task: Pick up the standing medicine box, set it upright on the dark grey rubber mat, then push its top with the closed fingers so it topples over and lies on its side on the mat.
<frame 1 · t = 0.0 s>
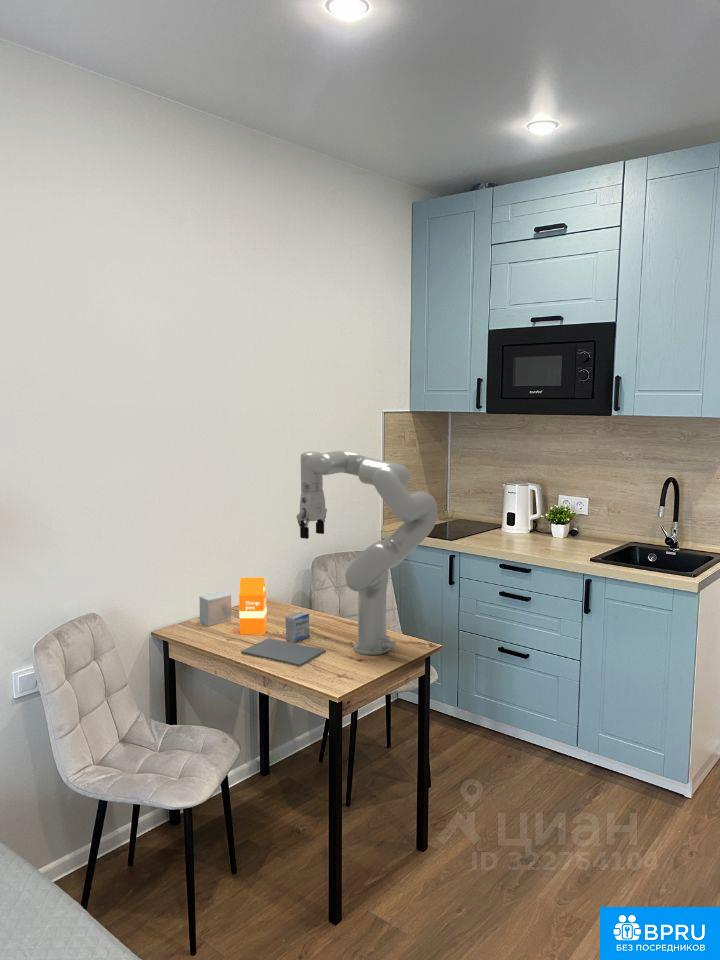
hand: (312, 535, 252), 37 cm above the table, tool pointing down, fingers open, 9 cm apart
medicine box: (297, 639, 255), on the table
skincare box: (215, 622, 274), on the table
orange juice: (253, 631, 264), on the table
mat: (283, 652, 241), on the table
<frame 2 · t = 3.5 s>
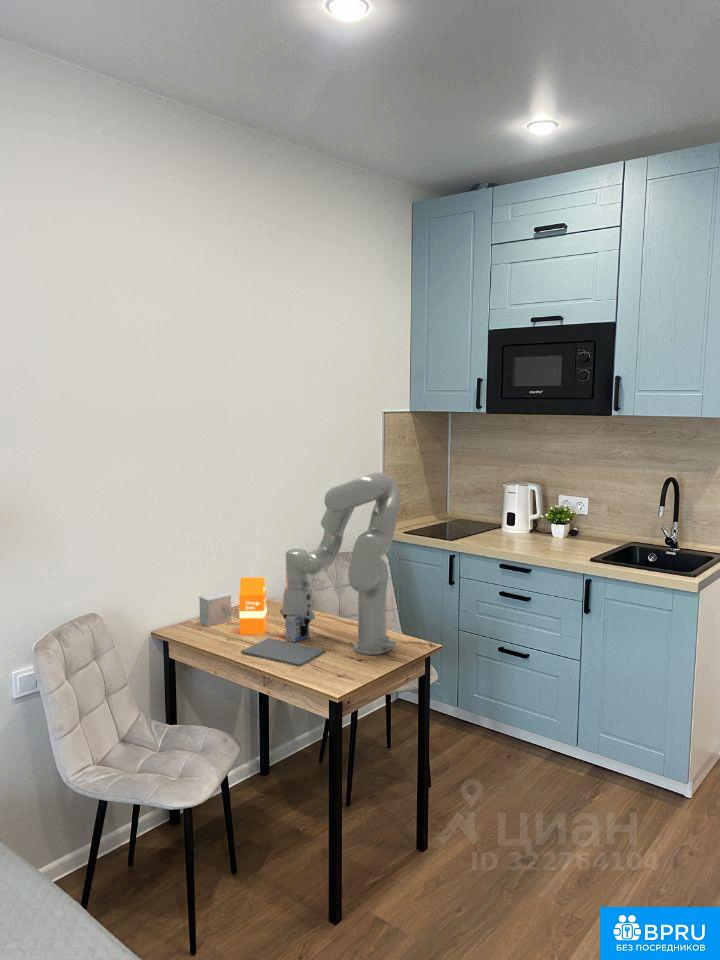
hand: (297, 634, 255), 2 cm above the table, tool pointing down, fingers closed on medicine box, 4 cm apart
medicine box: (297, 639, 255), on the table, touching gripper
everything else where it was.
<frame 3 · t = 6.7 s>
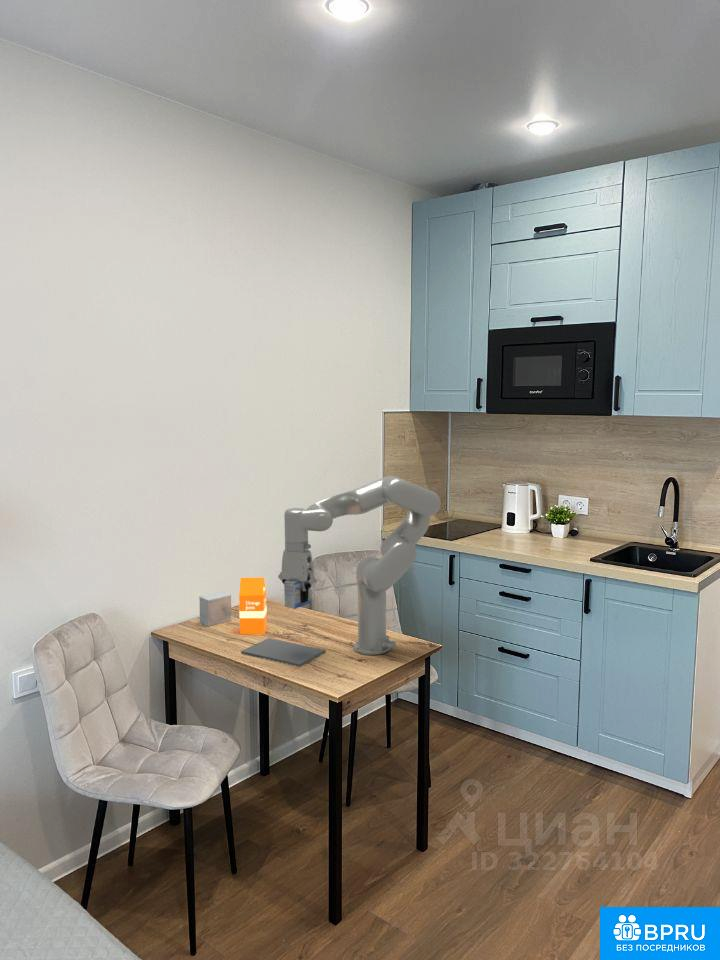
hand: (297, 600, 236), 19 cm above the table, tool pointing down, fingers closed on medicine box, 4 cm apart
medicine box: (297, 605, 236), point 17 cm above the table, touching gripper
everything else where it was.
when the fingers open (3 cm above the table, at t = 9.9 s): medicine box stays where it is, resting on mat.
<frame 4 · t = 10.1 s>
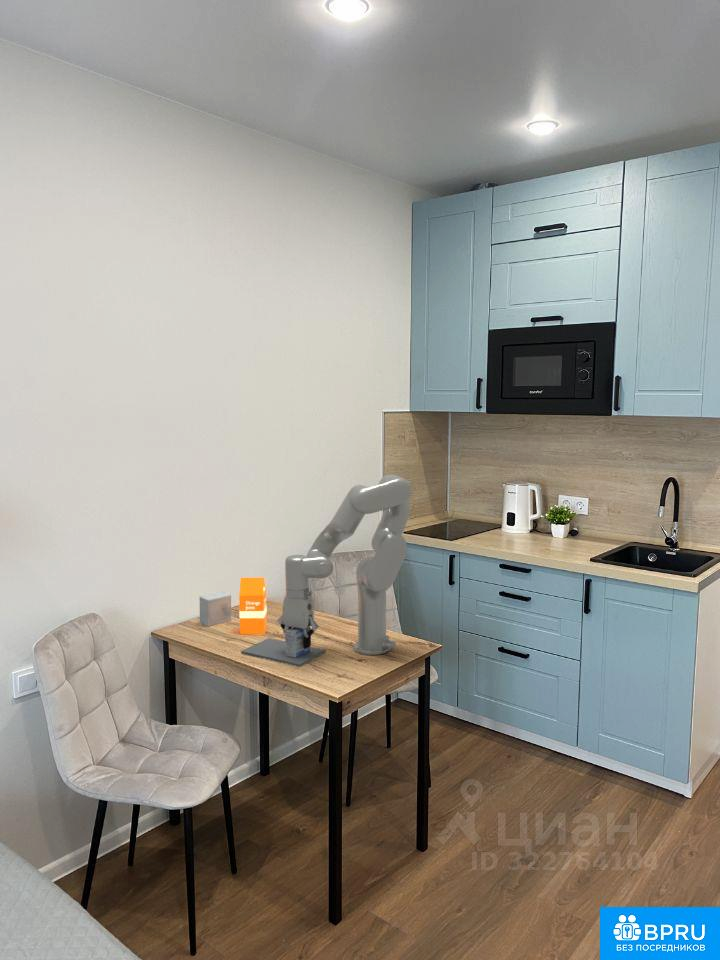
hand: (298, 645, 238), 4 cm above the table, tool pointing down, fingers open, 6 cm apart
medicine box: (298, 654, 238), point 1 cm above the table, touching mat
everything else where it was.
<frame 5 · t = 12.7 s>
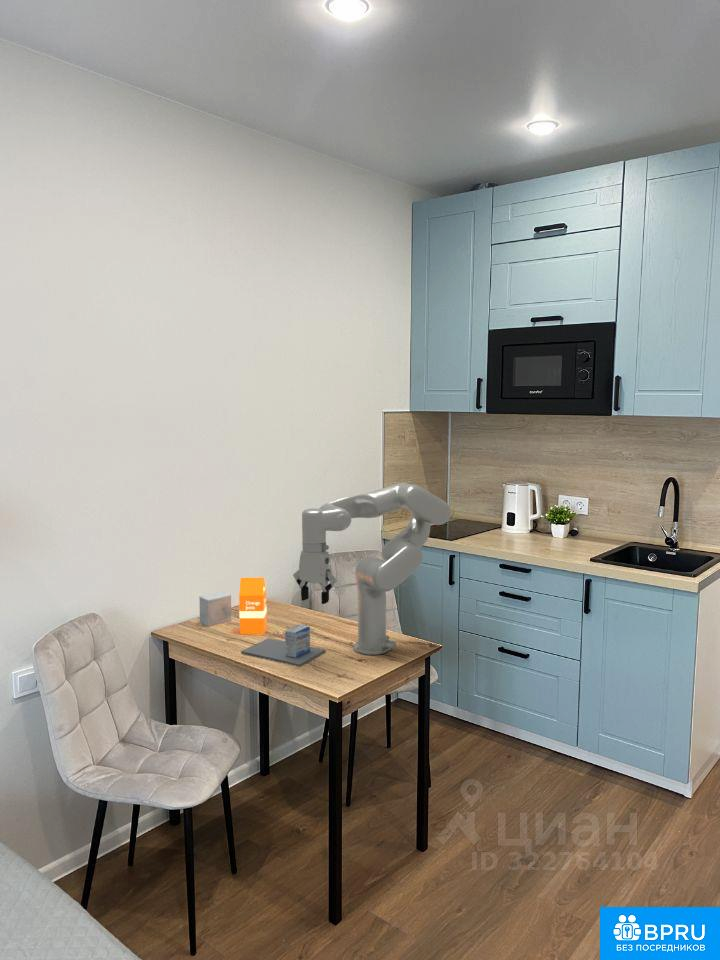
hand: (315, 600, 233), 20 cm above the table, tool pointing down, fingers open, 7 cm apart
nothing on the table moved.
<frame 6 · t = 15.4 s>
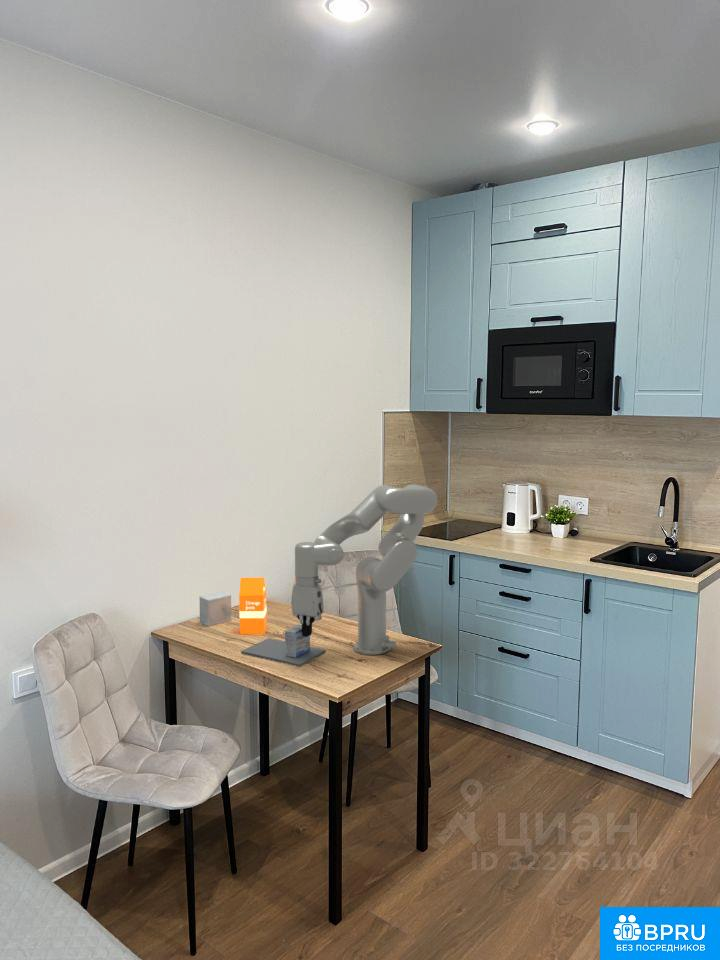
hand: (306, 635, 235), 8 cm above the table, tool pointing down, fingers closed
medicine box: (298, 654, 238), point 1 cm above the table, touching gripper, mat
everything else where it was.
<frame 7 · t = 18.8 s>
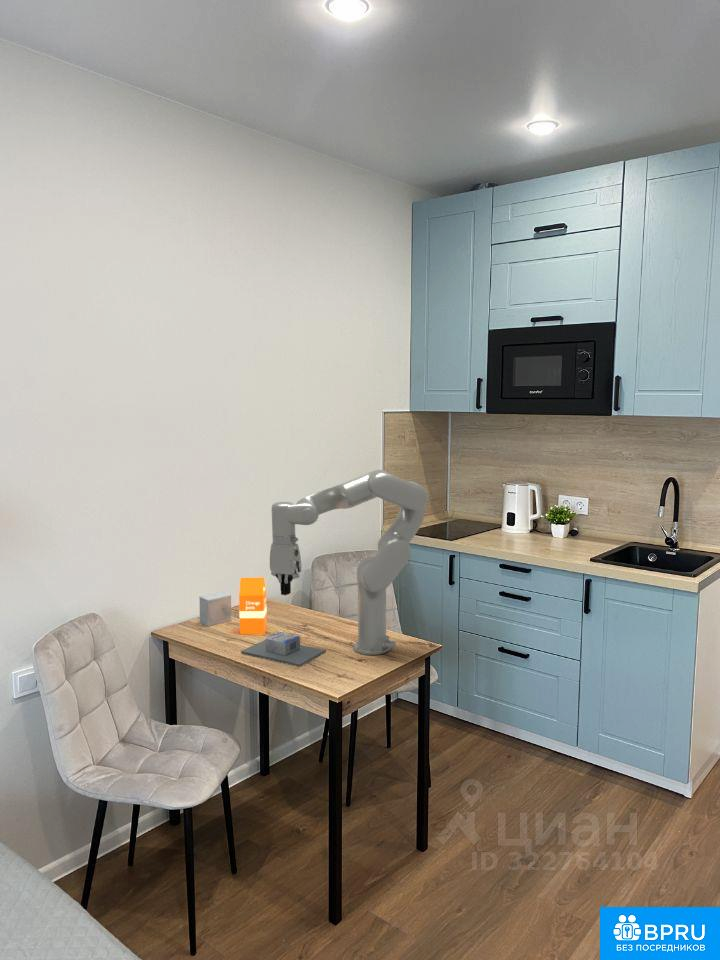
hand: (285, 594, 239), 20 cm above the table, tool pointing down, fingers closed
medicine box: (293, 646, 239), point 3 cm above the table, touching mat
everything else where it was.
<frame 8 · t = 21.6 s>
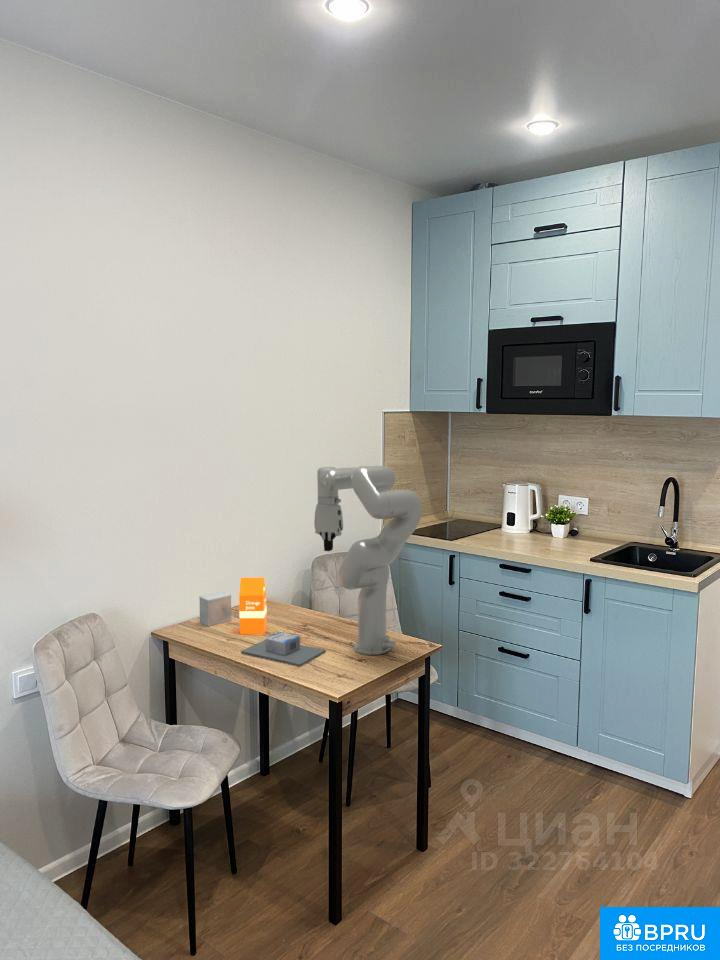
hand: (328, 550, 264), 29 cm above the table, tool pointing down, fingers closed
nothing on the table moved.
at the end: medicine box tilted 89°; medicine box inside the target area on the mat (3.0 cm from its centre), point 2.9 cm above the mat's base; medicine box touching mat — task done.
